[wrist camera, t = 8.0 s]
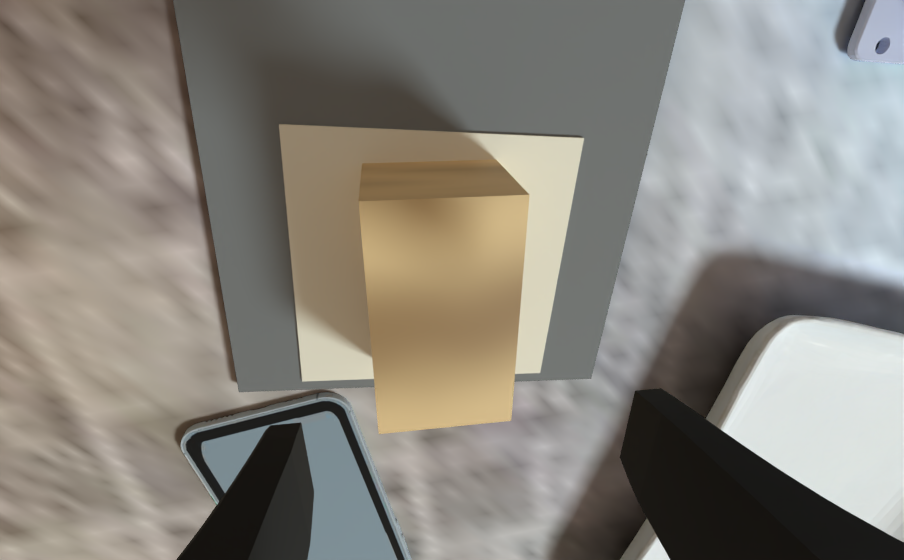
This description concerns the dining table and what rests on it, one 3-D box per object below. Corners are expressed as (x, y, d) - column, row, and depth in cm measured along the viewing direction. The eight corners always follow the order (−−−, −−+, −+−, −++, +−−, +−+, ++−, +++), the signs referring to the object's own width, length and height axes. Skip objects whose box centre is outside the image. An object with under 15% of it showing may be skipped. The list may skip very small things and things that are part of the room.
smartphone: (344, 391, 20) (422, 591, 27) (345, 378, 21) (421, 577, 28) (169, 435, 20) (294, 626, 27) (176, 421, 21) (296, 610, 28)
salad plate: (1054, 334, 26) (1143, 374, 23) (832, 577, 35) (875, 629, 32) (731, 275, 21) (790, 315, 18) (568, 575, 30) (589, 636, 27)
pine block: (487, 352, 20) (511, 420, 16) (378, 361, 19) (378, 433, 16) (496, 159, 16) (529, 194, 13) (362, 163, 16) (358, 201, 12)
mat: (732, -222, 13) (744, -231, 13) (587, 373, 22) (592, 379, 22) (124, -329, 11) (113, -346, 10) (241, 385, 20) (238, 393, 19)
